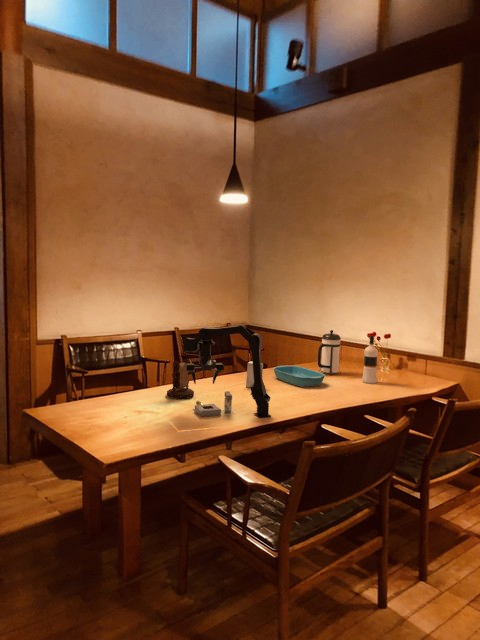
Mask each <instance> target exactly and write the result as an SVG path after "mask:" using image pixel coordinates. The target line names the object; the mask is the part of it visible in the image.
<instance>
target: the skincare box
mask: <svg viewBox="0 0 480 640" xmlns="http://www.w3.org/2000/svg"><path fill="white" fill-rule="evenodd" d="M261 365H262V373H264V372H263V370H264V363H263V362H261ZM245 379H246V381H245V388H250V387H251V386H252V385H253V384H254V375H253V361H249V362H247V367H246V378H245Z"/></svg>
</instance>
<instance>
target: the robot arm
mask: <svg viewBox="0 0 480 640" xmlns="http://www.w3.org/2000/svg"><path fill="white" fill-rule="evenodd" d="M234 334H235V335H237V334H240V335H241V336H242V337H243V339H244V340H246V341H247V342H248V346H249V349H250V350H249V351H250V352H251V356H252V357H251V359H252V362H253V375H254V384H253V385H252V386H251V387H249V388H250V396H251V397H252V399H253V400H254V401H255V405H256V412H254V413H253V415H254V416H255V417H258V418H259V419H260V418H270V417H272V415H271V414H269V413H270V412H269V411H270V410H269V409H270V408H269V407H270V405H269V404H270V403H269V402H270V400H271V397H270V395H269V394H268V392H267V389H266V385H265V382H264V381H263V372H262V365H261V363H262V355H261V353H262V348H263V340H264V339H263V338H264V337H263V336H262V334H260V333H256V332H255V331H254V330H252V329H250V328H249V327H247V326H246V325H245V324H240V325H239V324H238V325H232V326H231V325H230V326H224V327H212V326H211V327H209V326H206V327H202V328H200V329H199V331H198V334H197V336H196V337H194V338H191V337H186V338H185V341H184V344H183V350H184V352H187V353H189V352H190V353H197V352H198V353H199V354H198V364H194V363H191V362H189V363H186V364H185V369H186V371H188V372H189V374H191V377H192V380H193V383H194V385H196V383H197V382H196V381H197V380H196V371H195V370H201V371H204V372H205V371H212V369H213V374H212V384H214V385H215V382H216V379H217V376H218V375H219V374H220V373H221V372H222V371H225V365H224V364H223V363H222V362H217V361H216V360H215V359H211V358H212V357H211V355H212V346H213V345H215V344H216V342H215V341H214V340H213V338H216V337H219V336H221V337H222V336H227V335H234ZM209 339H210V340H209Z"/></svg>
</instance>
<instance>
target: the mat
mask: <svg viewBox="0 0 480 640" xmlns="http://www.w3.org/2000/svg"><path fill="white" fill-rule="evenodd" d="M221 414H223V415H224V416H234V415H236V413H235V412H234V411H233V410H231V413H224V409H223V410H222V409H221Z"/></svg>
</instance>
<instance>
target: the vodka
mask: <svg viewBox="0 0 480 640" xmlns="http://www.w3.org/2000/svg"><path fill="white" fill-rule="evenodd" d="M374 341H375V336H374V335H369V345H368V346H367V347H365V349H364V352H363V353H364V354H363V355H364V356H363V357H364V359H363V370H362V371H363V374H362V378H361V381H362V383H364V384H371V385H373V384H376V383H377V382H378V378H377V370H378V367H377V365H378V355H379V351H378V349H377V347H375V346H374V345H375V344H374V343H375V342H374Z"/></svg>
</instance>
